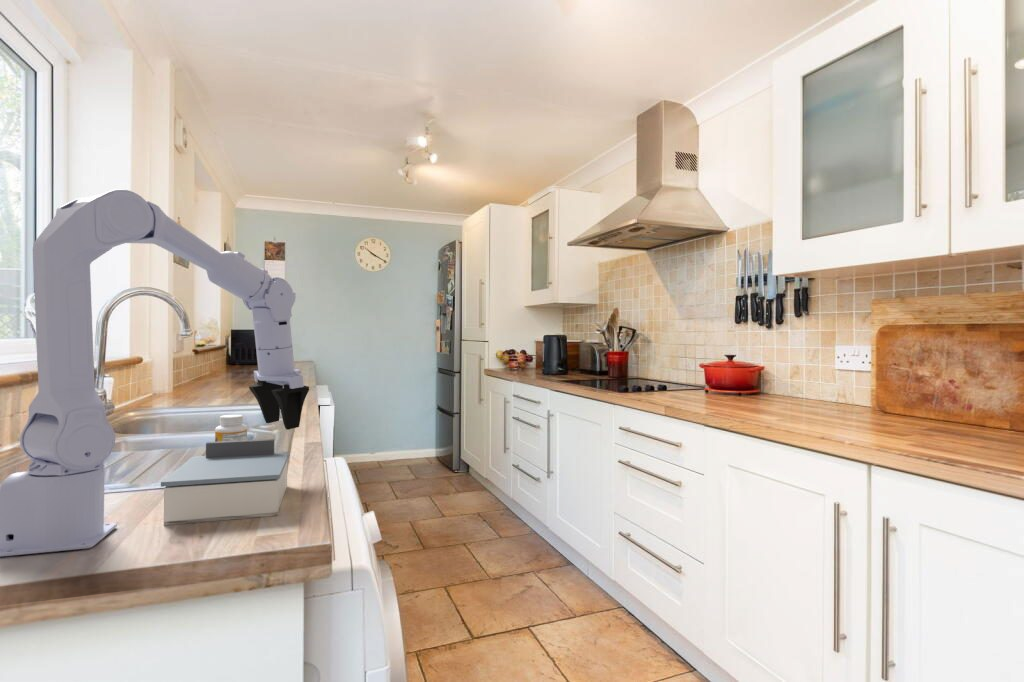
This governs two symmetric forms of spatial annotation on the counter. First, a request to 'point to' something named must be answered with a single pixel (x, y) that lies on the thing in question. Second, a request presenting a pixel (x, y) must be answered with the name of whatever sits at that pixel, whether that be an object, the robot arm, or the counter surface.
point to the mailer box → (223, 500)
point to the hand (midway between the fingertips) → (282, 424)
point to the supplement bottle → (231, 429)
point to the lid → (231, 463)
